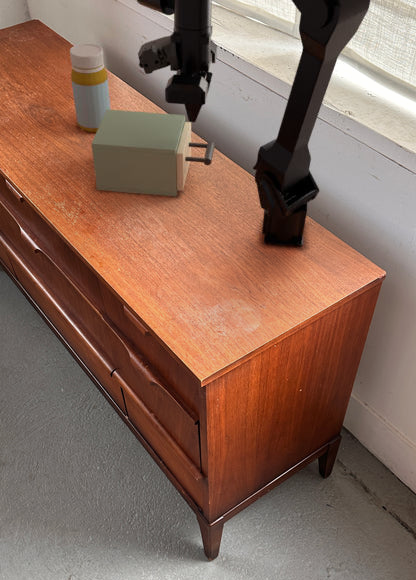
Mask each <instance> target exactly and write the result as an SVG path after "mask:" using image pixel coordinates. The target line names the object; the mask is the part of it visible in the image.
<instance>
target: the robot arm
mask: <svg viewBox="0 0 416 580" xmlns="http://www.w3.org/2000/svg"><path fill="white" fill-rule="evenodd" d="M136 2H137V3H138V4H139V5H141V6H143V7H145V8H147V9H150V10H152V11H155V12H158V13H160V14H163V15H165V16H172V15H173V29H172V31H173V32H172V33H171V34H170V35H168V36H163V37H160V38H156V39H153V40H150V41H147V42H145V43H143V44H142V45H141V46H140V48H139V50H138V53H137V56H138V57H137V58H138V60H139V63H138V66H139V68H141V69H143V71H144V74H146V75H150V74H153V72H156V71H158V70H162V69H164V68H167V67H169V69H170V71H171V72H172V71H173V72H176V73H175V74H173V75H172V76H171V77H170V78H168V80H167V83H166V86H165V88H164V98H165V99H164V101H165V102H166V103H168V104H174V105H175V104H176V105H184V108H185V113H186V116H187V119H188V122H191V123H196V121H197V119H198V117H199V114H200V112H201V109H202V107H203V106H204V105H206V102H207V98H208V94H209V91H210V88H211V83H212V78H213V72H211V71H210V68H211V65H212V64H216V62H217V57H218V45H217V44H216V42H214V40H213V39H212V36H213V31H214V29H213V28H214V27H213V25H212V13H213V11H212V9H213V0H136ZM291 2H292V3H293V4H294V6H295V7H296V9H297V11H298V12H299V13H300V17H299V22H298V23H299V24H298V33H299V37H300V42H301V46H302V50H301V53H300V57H299V61H298V65H297V68H296V71H295V75H294V77H293V82H292V84H291V88H290V91H289V95H288V99H287V102H286V106H285V108H284V113H283V116H282V118H281V122H280V126H279V129H278V133H277V136H276V138H274V139H272V140H271V141H269V142H267V143H264V144H263V145H261V146H260V147H259V149H258V152H257V157H256V162H255V165H254V166H253V167H252V169H253V170H254V171H255V173H254V181H255V183H256V190H257V194H258V200H259V205H260V208H261V209H262V210H263V217H262V226H261V227H262V229H261V234H262V235H264V237H263V244H265V245H272V246H283V247H284V246H285V247H296V248H302V247H303V246H304V233H305V226H306V219H307V213H308V203H309V202H312V201H313V200H315V199H316V198H317V196H318V194H319V193H320V188H319V186H318V184H317V181H316V180H315V178H314V176H313V174H312V172H311V170H310V166H311V162H312V155H311V152H310V149H309V148H310V147H309V143H310V139H311V137H312V133H313V131H314V128H315V125H316V123H317V119H318V116H319V113H320V111H321V107H322V106H323V105H322V104H323V101H324V99H325V96H326V94H327V90H328V87H329V84H330V81H331V78H332V76H333V74H334V73H333V72H334V70H335V67H336V64H337V61H338V59H339V56H340V54H341V53H342V52H343V50H345V48H346V46H347V45H348V44H349V43H350V41H352V39H353V38H354V36H355V35H356V34H357V32H358V30H359V29H360V27H361V25H362V23H363V20H364V19H365V17H366V15H367V13H368V12H369V9H370V5H371V0H291Z"/></svg>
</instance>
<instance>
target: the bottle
mask: <svg viewBox="0 0 416 580" xmlns="http://www.w3.org/2000/svg"><path fill="white" fill-rule="evenodd" d="M69 56H70V62H71V68H72V69H71V73H70V79H71V87H72V88H71V89H72V95H73V103H74V109H75V116H76V122H77V123H76V124H77V126H78V127H79V128H80V129H81V130H82V131H84V132H86V133H92V134H93V133H95V134H96V132H97V130H98V128H99V126H100V124H101V121H102V119H103V117H104V115H105V113H106V110H107V109H109V110H112V109H111V100H110V88H109V79H108V72H107V70H106V68H105V63H104V62H105V61H104V60H105V59H104V50H103V48H102V46H101V45H99V44H94V43H79V44H76V45H73V46H72V47H71V48H70V49H69Z"/></svg>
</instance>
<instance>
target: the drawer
mask: <svg viewBox="0 0 416 580" xmlns="http://www.w3.org/2000/svg"><path fill="white" fill-rule="evenodd" d="M215 146H216V144H215V142H214V141H208V142H207V143H201V142H192V122H189V121H185V123H184V127H183V130H182V134H181V138H180V142H179V145H178V147H177V151H176V174H177V190H178V191H181V192H183V191H184V188H185V185H186V180H187V176H188V173H189V168H190V164H191V163H192V162H193V163H203V164H204V165H205V166H210V165H211V164H212V161H213V156H214V150H215ZM192 148H199V149H200V148H201V149H205V153H204V157H198V156H197V157H196V156H192Z"/></svg>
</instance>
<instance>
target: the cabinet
mask: <svg viewBox="0 0 416 580" xmlns="http://www.w3.org/2000/svg"><path fill="white" fill-rule="evenodd" d="M185 122H186V115H185V114H174V113H161V112H160V113H159V112H147V111H135V110H134V111H133V110H122V109H121V110H119V109H111V110H109V109H107V110H106V113H105V115H104V117H103V119H102V121H101V124H100V126H99V128H98V130H97V132H96V133H95V134H94V137H93V139H92V141H91V152H92V153H91V154H92V161H93V168H94V176H95V185H96V191H105V192H106V191H107V192H118V193H129V194H140V195H153V196H165V197H177V194H178V191H179V190H177V174H176V151H177V147H178V145H179V142H180V138H181V134H182V130H183V127H184V123H185Z"/></svg>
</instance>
